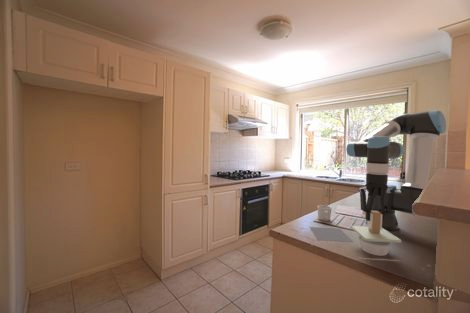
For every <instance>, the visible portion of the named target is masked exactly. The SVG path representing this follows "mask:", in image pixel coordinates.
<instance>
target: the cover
mask: <svg viewBox="0 0 470 313" xmlns="http://www.w3.org/2000/svg"><path fill="white" fill-rule="evenodd" d="M371 213H372V214H373V224H372V229H369V228H368V227H367V225H366V226H365V225H364V226H361V225H360V226H359V225H350V229H352V230H353V231H354V232H355V234H357V235H358V236H361V237H362V238H363V239H364V240H365V241H379V242H390V243H399V244H401V243H402V240H401V238H398V237H397V236H396V235H394V234H393V233H391V232H390V231H389V230H385V229H383V228H382V230H380V222H381V213H380V212H378V211H373V210H372V211H371Z"/></svg>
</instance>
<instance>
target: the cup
mask: <svg viewBox="0 0 470 313" xmlns="http://www.w3.org/2000/svg"><path fill="white" fill-rule="evenodd" d="M316 208H317V218H318V219H319V220H320V221H324V222H325V221H326V222H328V221H330V220H331V215H332V211H333V210H332V206H329V205H325V204H319V205H317V207H316Z"/></svg>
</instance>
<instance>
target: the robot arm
mask: <svg viewBox="0 0 470 313" xmlns="http://www.w3.org/2000/svg"><path fill="white" fill-rule="evenodd" d="M446 131H447V121H446V117H445V115H444V113H443V112H442V111H441V110H427V111H418V112H408V113H402V114H399V115H396V116H393V117H392V118H389V119H388V120H386V121H384V122H382V124H381V126H380V127H379V128H377V129H375V130H374V131H373V132H371V133H369V134H367V135H366V136H365V137H363V138H361V139H360V140H358V141H351V142H348V144H347V145H346V150H345V151H346V155H347V156H349V157H354V158H366V172H367V173H366V174H365V185H364V186H363V187H359V188H358V191H359V192H358V193H359V197H360V198H359V199H360V202H359V203H360V210H361V211H363V212H365V217H364V218H365V224H366V227H368V228H369V229H372V224H373V214H372V213H371V211H372V210H373V211H378V212H380V213H381V222H380V230H382V228H383V229H385V230H386V231H397V230H399V222H398V219H397V217H396V212H400V213H405V214H410V215H412V216H418V215H416V214H414V213H413V211H412V204H413V203H414V201H415V200H416V199H417V198H418V197H419V195H420V194H421V192H422V190H423V189H424V188H425V186H426V185H427V186H428V184H429V178H430V171H431V165H432V159H433V151H434V145H435V141H436V140H438V139H439V138H440V134H444V133H445V132H446ZM400 135H409V138H411V139H412V141H411V147H410V153H409V157H408V163H407V164H408V165H407V172H406V177H405V182H404V183H403V184H401V185H400V188H397V185H396V184H395V185H394V184H388V181H389V180H388V178H389V175H388V173H389V162H390V160H395V159H399V158H400V157H402V156H403V155H404V152H405V148H404V146H403V145H402V143H400V142H397V141H391V140H390V139H391V138H394V137H395V138H396V137H397V136H400ZM389 159H390V160H389ZM427 183H428V184H427ZM366 193H367V194H366Z"/></svg>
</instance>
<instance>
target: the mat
mask: <svg viewBox="0 0 470 313" xmlns="http://www.w3.org/2000/svg"><path fill="white" fill-rule="evenodd" d="M309 228H310V230H311V232H312V233H313V235H314V237H315V238H316V240H317V241H325V242H326V241H327V242H342V243H343V242H345V243H354V241H353V240H352V239H351V238H350V237H349V236H348V235H347V233H345V232H344V231H343V230H342V229H341V228H336V227H316V226H309Z"/></svg>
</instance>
